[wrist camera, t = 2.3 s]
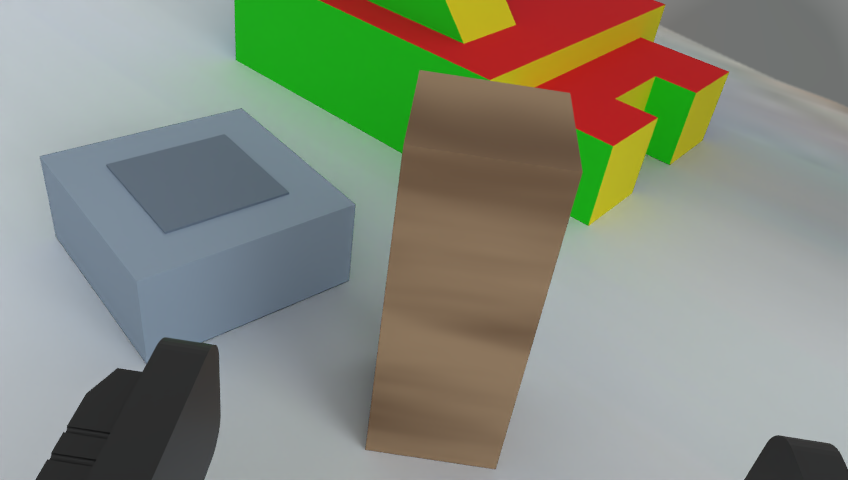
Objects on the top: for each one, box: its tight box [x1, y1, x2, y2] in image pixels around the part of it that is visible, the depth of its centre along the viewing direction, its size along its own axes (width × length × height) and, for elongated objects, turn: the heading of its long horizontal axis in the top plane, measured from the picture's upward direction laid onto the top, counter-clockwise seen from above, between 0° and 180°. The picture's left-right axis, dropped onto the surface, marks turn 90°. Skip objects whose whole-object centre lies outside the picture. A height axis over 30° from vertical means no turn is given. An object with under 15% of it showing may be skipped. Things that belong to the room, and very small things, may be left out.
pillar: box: [365, 70, 583, 469], centre depth 24 cm, size 4×4×12 cm
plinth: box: [40, 108, 355, 364], centre depth 32 cm, size 9×9×4 cm
